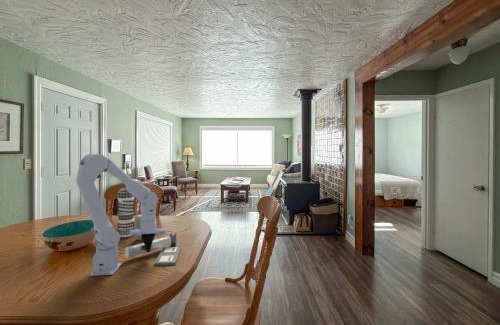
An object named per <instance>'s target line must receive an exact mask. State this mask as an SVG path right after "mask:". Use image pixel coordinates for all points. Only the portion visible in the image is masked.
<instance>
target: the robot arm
mask: <svg viewBox="0 0 500 325" xmlns="http://www.w3.org/2000/svg"><path fill="white" fill-rule="evenodd" d="M103 172H104V173H108V174H110V175H111V176H113V177H115V179H117V180H118V181H119V182H121V183H122V184H124V185H125V188H126V190H127V191H128V192H129V193H131V194H132V195H133V197H134V198H136V199H137V201H138V202H139V203H140V215H141V229H136V228H135V229H134V230H131V231H130V236H129V237H131V236H136V235H142V237H141V239H142V240H141V241H142V243H144V244H145V247H146V251H147V252H146V253H150V252H152V251H151V245H152V242H153V240H155V237H156V236H157V235H167V228H159V227H158V228H156V226H157V224H156V222H157V221H156V220H157V219H156V211H157V210H156V209H157V208H156V206H157V204H158V201H159V197H158V196H157V194H156V193H155V192H152V191H151V188H150V187H147V186H145V185H144V184H143V181H142V180H141V179H137V178H131V177H130V176H129V175H128V174H127V173H126V172H124V170H123V169H121V168H120V166H118V165H117V164H116V163H115V162H114V161H113V160H111V159H110V158H108V157H106V155H103V154H101V153H97V154H94V153H89V154H86V155H85V156H84V157H83V158H82V159H81V161H80V162H79V168H78V171H77V175H76V179H75V181H76V184H77V187H78V189H79V191H80V194H81V196H82V199H83V201H84V204H85V206H86V208H87V210H88V213H89V216H90V218H91V221H92V223H93V229H94V239H95V240H96V241H97V242H96V243H97V244H96V246H95V247H96V252H95V253H94V255H93V257H92V272H91V273H90V274H89V276H90V277H92V276H94V277H95V276H112V275H114V274H115V273H116V272H117V270H118V269H119V268H120V267H121V266H122V264H123V263H122V262H119V248H118V247H119V242H121V241H120V239H121V237H120V235H119V233H118V231H116V229H115V228H114V226H113V224H112V223H111V221H110V219H109V217H108V215H107V212H106V209H105V207H104V204H103V202H102V200H101V197H100V194H99V192H98V188H97V187H96V184H95V181H96V179H98V176H99V175H100V174H102V173H103Z"/></svg>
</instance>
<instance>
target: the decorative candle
mask: <svg viewBox="0 0 500 325" xmlns="http://www.w3.org/2000/svg"><path fill="white" fill-rule="evenodd" d="M135 198H136V197H135V196H133V195H132V194H131V193H129V192H128V191H127V190H126V187H124V188H120V189H119V190H118V191H117V201H116V202H115V203H116V210H117V211H116V214H117V216H118V217H117V224H116V225H117V226H116V227H117V229H116V230H117V232H118V233H119V235H120V238H128V237H131V236H130V231H131V230H136V221H135V217H134V214H135V210H134V209H136V207H135V205H136V204H135V202H136V199H135Z"/></svg>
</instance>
